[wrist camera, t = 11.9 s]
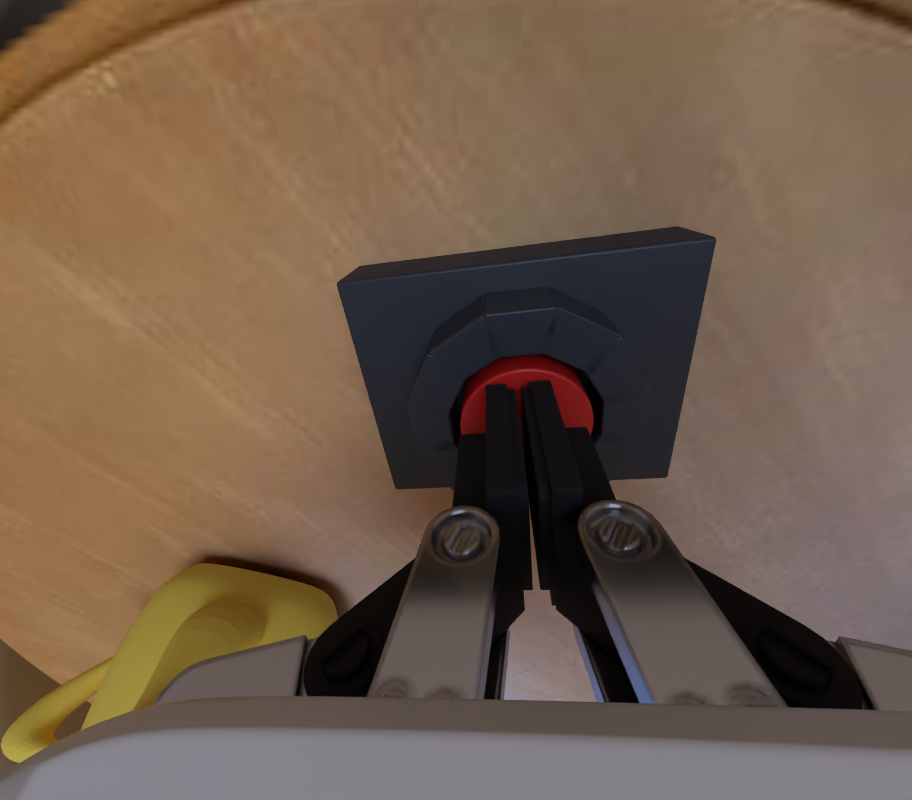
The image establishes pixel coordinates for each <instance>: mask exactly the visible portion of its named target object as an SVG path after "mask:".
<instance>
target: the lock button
mask: <svg viewBox="0 0 912 800" xmlns="http://www.w3.org/2000/svg"><path fill="white" fill-rule="evenodd" d="M545 380H550V381H551V384H552V387H553V390H554V394H555V397H556V400H557V403H558V407H559V410H560V413H561V416H562V420H563V423H564V426H565V428H570V427H587V429H588V431H589V433H590V435H591V432H592V429H593V410H592V406H591V403H590V401H589V398H588V396H587V394H586V392H585V389H584V387H583V385H582V383H581V380H580V378H579V376H578V373H577V372H576V370H575V368H574V367H573V366H571V365H569V364H566V363H564V362H562V361H559V360H557V359H555V358H552V357H550V356H548V355H545V354H537V355H525V356H514V357H503V358H498V359H497V360H495V361H493V362H492V363H490V364H489V365H487V366H486V367H484V368H482V369H481V370H479V371H478V372H476V373H475V374H473V375H471V376H470V377H468V378H467V380H466V382H465V386H464V393H463V402H462V411H461V421H460V427H461V434H477V433H486V385H495V384H506V387H507V389H512V388H515V394H516V402H517V410H518V417H519V425H520V432H521V440H522V448H523V455H524V438H523V417H522V397H521V388H525V387H529V382H532V381H545ZM524 463H525V459H524Z"/></svg>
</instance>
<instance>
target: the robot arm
mask: <svg viewBox="0 0 912 800" xmlns="http://www.w3.org/2000/svg"><path fill="white" fill-rule="evenodd" d="M521 397H522V417H523V438H524V455H523V448H522V440H521V432H520V425H519V417H518V410H517V402H516V394H515V388H512V389H507V387H506V384H495V385H486V433H477V434H462V435H460V438H459V448H458V457H457V467H456V477H455V487H454V497H453V507H452V508H450V509H446V510H445V511H443V512H441V513H440V514H438V515H437V516H436V517H435V518H434V519H433V520H431V521H430V523H429V524H428V526H427V528H426V530H425V532H424V535H423V538H422V541H421V544H420V546H419V549H418V552H417V555H416V558H415V559H414V560H412V561H411V562H410V563H408V564H407V565H406V566H405V567H403V568H402V569H401V570H400V571H398V572H397V573H396V574H395V575H393V576H392V577H391V578H389V579H388V580H387V581H386V582H384V583H383V584H382V585H381V586H379V587H378V588H377V589H376V590H374V591H373V592H372V593H370V594H369V595H368V596H367V597H365V598H364V599H363V600H362V601H360V602H359V603H358V604H357V605H355V606H354V607H353V608H351V609H350V610H349V611H348V612H346V613H345V614H344V615H343V616H341V617H340V618H339V619H338V620H336V621H335V622H334V623H332V624H331V625H330V626H329V627H328V628H327V629H326V630H325V631H324V632H323V633H322V634H321V635H320V636H319V637H317V638H313V639H309V640H308V638H307V636H306V635H302V636H298V637H294V638H290V639H286V640H282V641H278V642H274V643H270V644H266V645H262V646H258V647H253V648H249V649H245V650H241V651H237V652H233V653H229V654H225V655H221V656H217V657H213V658H209V659H205V660H202V661H200V662H198V663H195V664H193V665H191V666H189V667H188V668H186V669H185V670H183V671H182V672H181V673H179V674H178V675H177V676H175V677H174V678H173V679H172V680H171V682H170V683H169V684H168V685H167V686H166V687H165V688H164V689H163V690H162V692H161V693H160V694H159V696H158V698H157V700H156V701H155V703H154V705H153V706H149V707H145V708H142V709H138V710H134V711H130V712H127V713H125V714H122V715H119V716H116V717H113V718H111V719H108V720H105V721H102V722H99V723H97V724H95V725H93V726H90V727H88V728H86V729H83V730H81V731H79V732H77V733H74V734H72V735H70V736H68V737H66V738H64V739H62V740H60V741H58V742H56V743H54V744H52V745H50V746H48V747H46V748H44V749H42V750H41V751H39V752H37V753H36V754H34V755H32V756H30V757H29V758H27V759H25V760H24V761H22V762H20V763H19V764H17V765H16V766H14V767H13V768H11V769H10V770H9V771H7V772H6V773H4V774H3V775H2V776H0V800H912V651H910V650H905V649H900V648H895V647H890V646H885V645H881V644H876V643H871V642H866V641H861V640H856V639H851V638H846V637H841V636H839V637H838V639H837V640H836V642H832V641H827V640H825V639H824V638H823V637H821V636H820V635H818V634H817V633H815V632H814V631H812V630H811V629H809V628H808V627H806V626H805V625H803V624H801V623H799V622H798V621H796V620H794V619H792V618H791V617H789V616H787V615H785V614H783V613H782V612H780V611H778V610H776V609H775V608H773V607H771V606H769V605H767V604H766V603H764V602H762V601H760V600H759V599H757V598H755V597H753V596H751V595H750V594H748V593H746V592H744V591H743V590H741V589H739V588H737V587H735V586H734V585H732V584H730V583H728V582H727V581H725V580H723V579H721V578H719V577H718V576H716V575H714V574H712V573H711V572H709V571H707V570H705V569H703V568H702V567H700V566H698V565H696V564H695V563H693V562H691V561H689V560H687V559H686V558H684V557H683V556H682V554H681V553H680V551H679V550H678V548H677V547H676V545H675V544H674V543H673V541H672V540H671V538H670V537H669V535H668V534H667V533H666V531H665V530H664V528H663V527H662V525H661V524H660V523H659V522H658V521H657V520H656V519H655V517H654V516H653V515H652V514H650V513H649V512H647V511H646V510H644V509H643V508H641V507H639V506H637V505H634V504H632V503H629V502H625V501H619V500H616V499H615V496H614V493H613V491H612V488H611V486H610V483H609V481H608V478H607V476H606V473H605V471H604V468H603V466H602V463H601V461H600V458H599V456H598V453H597V450H596V448H595V445H594V443H593V440H592V438H591V435H590V433H589V431H588V429H587V427H570V428H565V426H564V423H563V420H562V416H561V413H560V410H559V407H558V403H557V400H556V397H555V394H554V390H553V387H552V384H551V381H550V380H545V381H532V382H529V387H525V388H521ZM524 459H525V463H524ZM528 498H529V499H528ZM529 506H530V514H531V521H532V529H533V537H534V545H535V552H536V560H537V568H538V576H539V583H540V589H541V590H550V596H551V602H552V605H556V610H557V611H559V612H560V613H561V614H562V615H563V616H565V617H566V618H567V619H568V620H569V621H570V622H572V623H573V629H574V634H575V637H576V640H577V643H578V646H579V649H580V652H581V655H582V658H583V661H584V664H585V667H586V670H587V673H588V676H589V679H590V682H591V684H592V687H593V690H594V693H595V696H596V699H597V702H571V701H529V700H504V692H505V682H506V671H507V660H508V649H509V639H510V627H509V626H510V625H511V624H512V623H513V622H514V621H515V620H516V619H517V618H518V617H519V616H520V615H521V613H522V612H523V611H524V610H525V607H524V591H523V590H533V587H532V564H531V542H530V519H529Z"/></svg>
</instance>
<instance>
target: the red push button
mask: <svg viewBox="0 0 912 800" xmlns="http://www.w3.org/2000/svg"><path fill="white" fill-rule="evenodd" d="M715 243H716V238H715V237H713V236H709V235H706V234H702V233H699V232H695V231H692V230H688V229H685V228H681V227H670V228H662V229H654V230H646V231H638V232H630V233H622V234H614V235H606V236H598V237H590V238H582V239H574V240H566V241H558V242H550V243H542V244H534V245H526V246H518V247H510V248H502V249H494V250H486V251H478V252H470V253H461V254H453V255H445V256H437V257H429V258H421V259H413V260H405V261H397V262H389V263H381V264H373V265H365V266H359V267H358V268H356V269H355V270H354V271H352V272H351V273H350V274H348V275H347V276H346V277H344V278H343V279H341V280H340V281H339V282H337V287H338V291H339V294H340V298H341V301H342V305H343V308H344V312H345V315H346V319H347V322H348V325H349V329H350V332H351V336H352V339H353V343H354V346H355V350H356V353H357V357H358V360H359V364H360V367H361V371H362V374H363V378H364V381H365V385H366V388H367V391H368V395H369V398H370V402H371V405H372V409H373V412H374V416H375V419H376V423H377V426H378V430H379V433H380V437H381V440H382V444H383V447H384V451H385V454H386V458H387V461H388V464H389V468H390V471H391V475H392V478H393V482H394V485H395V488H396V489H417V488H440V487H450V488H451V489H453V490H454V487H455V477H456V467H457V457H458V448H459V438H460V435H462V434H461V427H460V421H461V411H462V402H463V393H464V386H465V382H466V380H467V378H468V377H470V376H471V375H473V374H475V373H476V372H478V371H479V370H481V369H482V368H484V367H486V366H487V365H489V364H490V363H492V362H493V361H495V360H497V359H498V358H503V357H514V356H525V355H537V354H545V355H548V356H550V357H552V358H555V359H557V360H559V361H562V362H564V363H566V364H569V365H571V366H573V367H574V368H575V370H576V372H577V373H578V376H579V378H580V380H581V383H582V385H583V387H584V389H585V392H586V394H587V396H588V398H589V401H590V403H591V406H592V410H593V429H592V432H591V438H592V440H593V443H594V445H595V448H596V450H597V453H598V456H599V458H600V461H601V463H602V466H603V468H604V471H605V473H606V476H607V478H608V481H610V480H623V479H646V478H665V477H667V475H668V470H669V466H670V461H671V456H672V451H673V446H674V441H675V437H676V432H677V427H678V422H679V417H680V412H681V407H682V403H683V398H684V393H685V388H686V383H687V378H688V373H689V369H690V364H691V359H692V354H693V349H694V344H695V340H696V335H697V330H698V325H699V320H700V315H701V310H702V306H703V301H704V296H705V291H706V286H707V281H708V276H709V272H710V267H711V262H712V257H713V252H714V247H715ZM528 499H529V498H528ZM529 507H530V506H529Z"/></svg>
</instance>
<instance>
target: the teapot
mask: <svg viewBox="0 0 912 800" xmlns="http://www.w3.org/2000/svg"><path fill="white" fill-rule="evenodd" d="M336 620H338V616H337V611H336V608H335V605H334V602H333V601H332V599H331V597H330V596H329V595H328V594H327V593H325V592H324V591H322V590H320V589H318V588H316V587H313V586H310V585H307V584H304V583H301V582H297V581H293V580H289V579H286V578H282V577H278V576H274V575H270V574H265V573H261V572H256V571H251V570H246V569H241V568H236V567H230V566H225V565H218V564H211V563H199V564H195V565H193V566H192V567H190V568H188V569H186V570H184V571H182V572H180V573H179V574H177V575H176V576H174V577H172V578H171V579H169V580H168V581H166V582H165V583H164V584H163V585H162V586H161V587H160V588H159V589H158V590H157V591H156V592H155V594H154V595H153V596H152V597H151V599H150V600H149V601H148V603H147V604H146V605H145V606H144V608H143V609H142V611H141V612H140V614H139V615H138V617H137V618H136V620H135V621H134V623H133V624H132V626H131V628H130V629H129V631H128V633H127V634H126V636H125V638H124V639H123V641H122V643H121V644H120V646H119V648H118V650H117V652H116V654H115V655H114V656H113V657H111V658H110V659H108V660H106V661H104V662H102V663H100V664H98V665H96V666H95V667H93V668H91V669H89V670H87V671H85V672H84V673H82V674H80V675H78V676H77V677H75V678H73V679H71V680H70V681H68V682H66V683H64V684H63V685H61V686H59V687H58V688H56V689H55V690H53V691H52V692H50V693H49V694H47V695H46V696H44V697H43V698H42V699H40V700H39V701H38V702H36V703H35V704H34V705H32V707H30V708H29V709H28V710H26V711H25V712H24V713H23V714H22V715H21V716H20V717H19V718H18V719H17V720H16V721H15V722H14V723H13V724H12V725H11V726H10V727H9V729H8V730H7V732H6V733H5V735H4V736H3V739H2V743H1V748H2V751H3V754H4V755H5V756H6V757H8V758H9V759H10V760H12V761H15V762H17V763H20V762H22V761H24V760H25V759H27V758H29V757H30V756H32V755H34V754H36V753H37V752H39V751H41V750H42V749H44V748H46V747H48V746H50V745H52V744H54V743H56V742H58V741H60V740H57V739H55V737H54V736H53V733H54V731H55V729H56V728H57V726H58V725H59V724H60V723H61V722H62V721H63V720H64V719H65V718H66V717H67V716H68V715H69V714H70V713H71V712H73V711H74V710H75V709H76V708H77V707H78V706H80V705H81V704H82V703H83V702H85V701H86V700H87V699H89V698H90V697H91V696H92V695H94V694H95V693H96V692H97V693H96V695H95V698H94V700H93V702H92V705H91V707H90V709H89V712H88V714H87V716H86V719H85V721H84V724H83V726H82V728H81V730H83V729H86V728H88V727H90V726H93V725H95V724H97V723H99V722H102V721H105V720H108V719H111V718H113V717H116V716H119V715H122V714H125V713H127V712H130V711H134V710H138V709H142V708H145V707H149V706H153V705H154V703H155V701H156V700H157V698H158V696H159V694H160V693H161V692H162V690H163V689H164V688H165V687H166V686H167V685H168V684H169V683H170V682H171V680H172V679H173V678H174V677H175V676H177V675H178V674H179V673H181V672H182V671H183V670H185V669H186V668H188V667H189V666H191V665H193V664H195V663H198V662H200V661H202V660H205V659H209V658H213V657H217V656H221V655H225V654H229V653H233V652H237V651H241V650H245V649H249V648H253V647H258V646H262V645H266V644H270V643H274V642H278V641H282V640H286V639H290V638H294V637H298V636H302V635H306V636H307V638H308V640H309V639H313V638H317V637H319V636H320V635H321V634H322V633H323V632H324V631H325V630H326V629H327V628H328V627H329V626H330V625H331V624H332V623H334V622H335V621H336Z"/></svg>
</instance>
